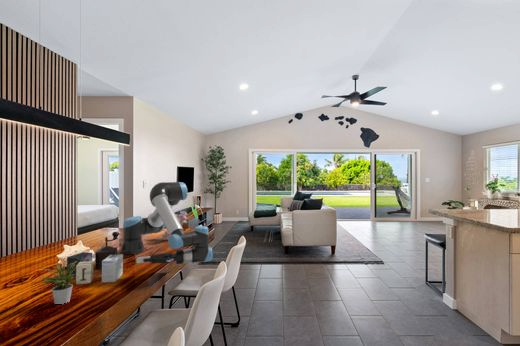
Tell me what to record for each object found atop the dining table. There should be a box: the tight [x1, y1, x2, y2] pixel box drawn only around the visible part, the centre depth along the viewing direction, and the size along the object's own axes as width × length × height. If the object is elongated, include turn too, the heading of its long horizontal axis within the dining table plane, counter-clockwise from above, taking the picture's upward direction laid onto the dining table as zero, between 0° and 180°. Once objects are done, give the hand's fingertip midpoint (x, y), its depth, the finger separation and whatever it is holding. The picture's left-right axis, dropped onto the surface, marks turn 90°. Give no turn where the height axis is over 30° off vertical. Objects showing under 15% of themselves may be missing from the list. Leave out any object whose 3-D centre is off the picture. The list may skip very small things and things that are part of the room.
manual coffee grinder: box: [94, 231, 120, 270], centre depth 167 cm, size 16×11×18 cm
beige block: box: [75, 260, 94, 285], centre depth 141 cm, size 6×6×9 cm
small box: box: [66, 251, 93, 279], centre depth 150 cm, size 11×6×10 cm, turn 168°
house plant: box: [39, 261, 77, 305], centre depth 119 cm, size 14×14×16 cm
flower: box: [161, 208, 188, 241], centre depth 232 cm, size 20×22×25 cm
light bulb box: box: [101, 253, 124, 283], centre depth 145 cm, size 11×7×11 cm, turn 8°
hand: (136, 260), depth 148 cm, fingers closed
